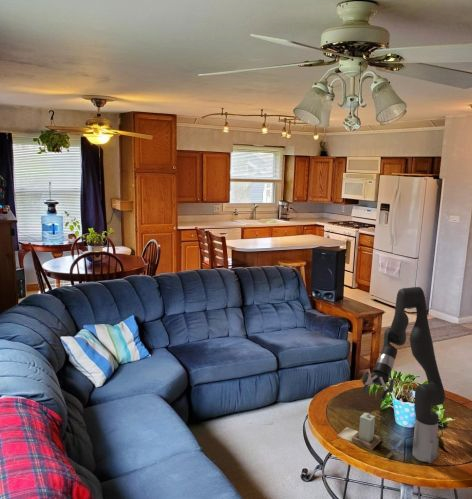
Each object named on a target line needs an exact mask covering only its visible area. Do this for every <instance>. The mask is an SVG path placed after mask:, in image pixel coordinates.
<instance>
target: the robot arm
mask: <svg viewBox="0 0 472 499" xmlns="http://www.w3.org/2000/svg"><path fill="white" fill-rule="evenodd" d="M426 302H427V300H426V297H425V292H424V290H423V288H422V287H420V286H414V287H413V286H412V287H403V288H400V289H398V292H397V294H396V300H395V308H394V316H393V319H392V321H391V325H390V327H388V328H386V329H385V330H384V332H383V333H384V334H383V345H382V349H381V351H380V354H379V356H378V358H377V360H376V363H375V366H374V368H373V372H372V373H370V372H369V371H366V372H365V374H364V376H363V378H362V380H361V383H362V384H363V385H364V386H363V389H362V391H363V394H365V395H366V394H367V393H368V390H369V387H370V386H373V385H376V386H379V387H382V388H383V390H382V394H381V396H380V399H381V400H382V401H384V400H385V399H386V397H387V394H388V393H390V394H392V393H393V391H394V387H395V380H394V379H393V378H392V379H391V378H390V376H391V373H392V370H393V368H394V364H395V360H396V358H397V355H398V349H397V348H396V347H395V346H394V345H396V346H398V347H400V346H403V345H405V343H406V341H407V332H406V331H407V328H408V326H409V322H410V321H409V320H410V319H409V317H408V315H407V313H406V312H405V309H416V318H415V322H414V324H413V327H412V329H411V332H410V335H409V344H410V350H411V354H412V356H413V358H414V359H415V360H416V362H418V364H419V366H421V368H422V369H423V371H424V373H425V376H426V379H427V383H423V384H419V385H416V387H415V391H414V413H415V418H414V431H413V439H412V440H413V442H412V456H413V457H414V458H415V459H416V460H418V461H420V462H424V463H428V464H432V463H433V462H434V461H435V460H437V458H438V450H439V441H440V439H439V437H438V430H439V420H440V419H439V418H440V416H439V414H438V413H437V412H435V411H433V410H431V407H434V406H442V405H443V404H444V403H445V401H446V393H445V389H444V386H443V382H442V379H441V376H440V372H439V368H438V364H437V360H436V354H435V348H434V344H433V338H432V334H431V330H430V324H429V319H428V311H427V310H428V309H427V303H426ZM392 344H394V345H392ZM369 378H370V379H369ZM388 383H389V385H388V388H387V385H386V384H388Z"/></svg>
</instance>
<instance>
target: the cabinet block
mask: <svg viewBox="0 0 472 499" xmlns="http://www.w3.org/2000/svg"><path fill="white" fill-rule="evenodd" d="M375 421H376V416H375V415H373V414H370V413H369V412H363V414H361V415H360V416H359V428H358V431H359V439H360V440H363V441H365V442H368V443H371V442H372V441H373V440H374V435H375Z"/></svg>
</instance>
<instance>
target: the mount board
mask: <svg viewBox="0 0 472 499" xmlns="http://www.w3.org/2000/svg"><path fill="white" fill-rule="evenodd" d="M337 437H338V438H342V439H344V440H346V441H348V442H351V443H354V444H356V445H357V446H358V445H359V446H361V447H363V448H366V449H367V450H371V451H372V450H373V449H374V448H375V447H376V446H377V445H378V444H379V443H380V442H381V436H379V435H376V434H374V440H373V441H372V442H371V443H368V442H365V441H363V440H360V439H359V430H356V429H353V428H351V427H348V426H346V427H345V428H344V429H343V430H341V431H340V432H339V433H338V434H337Z"/></svg>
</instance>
